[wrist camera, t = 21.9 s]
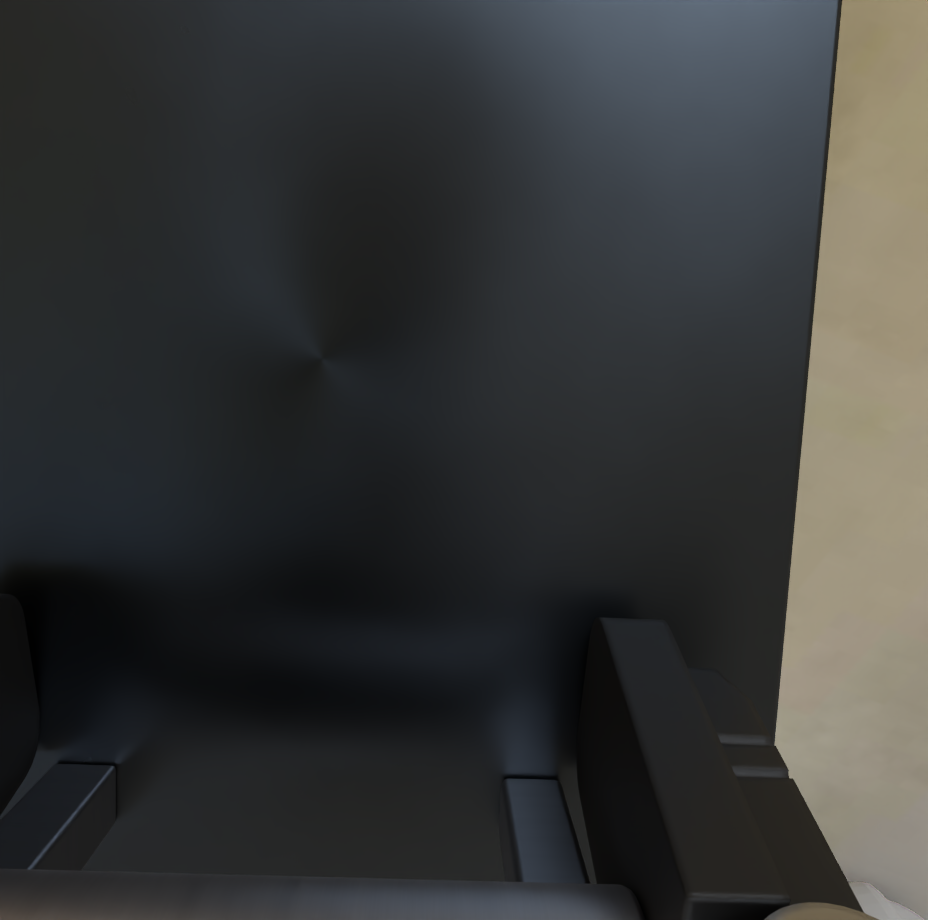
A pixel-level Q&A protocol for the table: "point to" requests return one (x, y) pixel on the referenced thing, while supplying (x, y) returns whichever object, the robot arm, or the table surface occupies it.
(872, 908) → the cup
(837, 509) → the table surface
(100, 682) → the lid
